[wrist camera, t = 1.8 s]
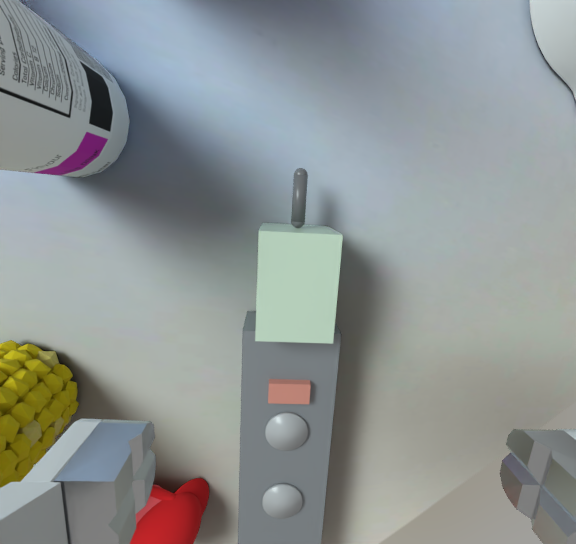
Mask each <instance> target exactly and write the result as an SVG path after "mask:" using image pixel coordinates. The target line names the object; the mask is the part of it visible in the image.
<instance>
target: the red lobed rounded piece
mask: <svg viewBox="0 0 576 544" xmlns="http://www.w3.org/2000/svg"><path fill="white" fill-rule="evenodd" d="M208 498H209V486H208V484H207V482H206V481H205V480H204V479H201V478H196V479H192V480H190V481H188V482H186V483H185V484H183V485H182V486H181V487H180V488H179V489H178V490H177V491H176V492H175V493H172V492H170V491H168V490H165V489H163V488H161V487H160V486H159V485H153V486H152V490H151V493H150V496H149V498H148V501H147V503H146V506H145V507H144V508H142V509H141V510H140V511H139V512H138V513H137V514H136V530H135V532H134V534H133V537H132V539H131V542H130V544H193V543H194V541H195V539H196V536H197V534H198V531H199V528H200V524H201V517H202V515H203V513H204V511H205V508H206V506H207V502H208Z"/></svg>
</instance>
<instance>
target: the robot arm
mask: <svg viewBox="0 0 576 544" xmlns="http://www.w3.org/2000/svg"><path fill="white" fill-rule="evenodd" d="M530 14H531V21H532V26H533V30H534V33H535V37H536V40H537V42H538V45H539V47H540V49H541V51H542V53H543V55H544V57H545V59H546V60H547V62H548V63H549V65H550V66H551V67H552V68H553V70H554V71H555V72H556V73H557V74H558V75H559V76H560V77H561V78H562V79H563V80H564V81H565V82H566V83H567V84H568V86H569V87H570V88H571V90H572V91H573V93H574V97H575V100H576V0H530ZM154 438H155V433H154V424H153V423H152V422H151V421H133V420H111V419H105V420H102V419H80V420H77V421H75V422H74V423H73V424H72V425H71V426H70V427H69V428H68V430H67V431H66V432H65V433H64V434H63V435H62V436H61V437H60V438H59V440H58V441H57V442H56V443H55V444H54V445H53V446H52V447H51V448H50V450H49V451H48V452H47V453H46V454H45V455H44V456H43V457H42V458H41V460H40V461H39V462H38V463H37V464H36V465H35V466H34V467H33V468H32V470H31V471H30V472H29V473H28V474H27V475H26V476H25V477H24V478H23V480H22V481H21V482H11V483H9V484H7V485H5V486H3V487H1V488H0V544H130V542H131V539H132V537H133V534H134V532H135V530H136V514H137V513H138V512H139V511H140V510H141V509H142V508H144V507H145V506H146V503H147V501H148V498H149V496H150V493H151V490H152V486H153V482H154V478H155V469H156V455H155V454H154V453H153V452H152V450H151V449H150V447H151V445H152V442H153V440H154ZM506 445H507V447H508V449H509V450H510V452H511V453H510V454H509V455H508V456H507V457H506V458H504V459H503V460H502V465H501V470H500V477H501V481H502V486H503V489H504V491H505V493H506V495H507V497H508V498H509V500H510V501H511V503H512V504H513V505H514V507H515V508H516V509H517V510H519V511H520V512H521V513H523V514H524V515H526V516H527V517H529V518H530V519H531V522H532V530H533V531H534V532H535V533H536V535H537V536H538V538H539V539H540V540H541V541H542V543H543V544H576V429H556V430H526V429H514V430H513V431H512V432H511V433H510V434H509V435H508V439H507V443H506Z"/></svg>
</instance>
